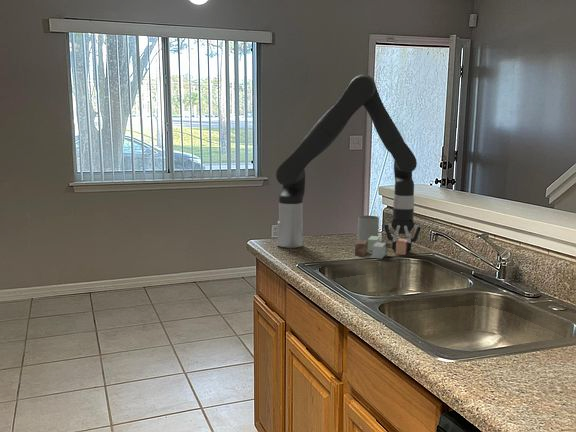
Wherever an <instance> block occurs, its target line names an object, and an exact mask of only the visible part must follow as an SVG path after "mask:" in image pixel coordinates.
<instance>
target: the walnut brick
mask: <svg viewBox="0 0 576 432" xmlns="http://www.w3.org/2000/svg"><path fill="white" fill-rule="evenodd" d="M367 253H368V240H358V239H357V241H356V242H355V244H354V255H355V256H359V257H360V256H363V257H365V256H366V255H367Z"/></svg>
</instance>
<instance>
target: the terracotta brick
mask: <svg viewBox="0 0 576 432" xmlns="http://www.w3.org/2000/svg"><path fill="white" fill-rule="evenodd" d="M396 241H397V242H396V252H395V255H402V256H403V255H406V254H408V253H407V243H408V240H407V238H406V239H405V238H397V240H396Z"/></svg>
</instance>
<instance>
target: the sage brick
mask: <svg viewBox="0 0 576 432" xmlns="http://www.w3.org/2000/svg"><path fill="white" fill-rule="evenodd" d="M376 242H381V236H379V235H378V236H371V237H370V238H369V239H368V251H369V252H373V245H374V244H375V243H376ZM368 251H367V252H368Z"/></svg>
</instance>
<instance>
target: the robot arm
mask: <svg viewBox="0 0 576 432" xmlns="http://www.w3.org/2000/svg"><path fill="white" fill-rule="evenodd" d="M362 106H363V107H364V108H365V110H366V112H367V113H368V115H369V117H370V119H371V122H372V124H373V125H374V129H375V131H376V134H377V135H378V137H379V139H380V141H381V142H382V144H383V146H384V148H385V149H386V150H387V152H389V153H390V155H391V156H392V159H393V160H394V161H393V162H394V163H393V174H394V181H395V182H394V195H393V205H392V207H393V208H392V221H391V223H385V224H384V225H383V226H384V227H383V228H384V230H385V234H386V237H387V240H388V241H391V242H392V245H391V247H392V250H393V252H394V253H396V242H397V241H398V237H399V235H401V234H403V235H405V236H406V239H407V240H408V243H407V253H406V254H409V253H410V252H411V251H412V243H416V242H417V239H418V238H419V235H420V232H421V229H422V226H421V225H417V224H415V222H414V213H415V212H414V211H415V195H414V194H415V182H414V180H413V172H414V171H415V170H416V168H417V166H418V161H417V158H416V156H415V154H414V153H413V151H412V150H411V148H410V147H409V146H408V144H406V142H405V140H404V138H403V136H402V134H401V132H400V131H399V129H398V128H397V125H396V124H395V123H394V121H393V119H392V118H391V116H390V114H389V112H388V110H387V109H386V107H385V105H384V103H383V101H382V98H381V96H380V93H379V90H378V88H377V85H376V81H375V80H374V78H373V77H372V76H370V75H368V74H365V73H364V74H363V73H361V74H359V75H357V76H355V77H353V79H352V80H351V81H350V83H349V85H348V86H347V87H346V89H345V90H344V92H343V93H342V94H341V96H340V98H339V99H338V100H337V102H335V104H334V105H333V106H332V107H330V108H329V109H328V110H327V111H326V112H325V113H324V114H323V115H322V116H321V117H320V118H319V119H318V121H317V122H316V123H315V124H314V126H313V127H312V128H311V129H310V131H308V133H307V134H306V135H305V136H304V138H303V139H302V140H301V142H300V143H299V144H298V146H297V147H296V148H295V150H293V152H292V153H291V154H289V155H288V156H287V158H286V159H284V160H283V161H282V162H281V163H280V164H279V165H278V168H277V170H276V172H275V173H276V174H275V178H276V180H277V182H278V184H280V185H282V190H281V193H280V194H279V196H278V221H277V223H276V234H277V235H276V246H277V247H281V248H290V249H291V248H302V246H303V200H304V197H305V192H306V191H305V190H306V189H305V187H306V171H305V168H307V166H308V165H309V164H310V163H311V162H312V161H313V160H314V159H315V158H317V157H318V156H319V155H320V154H322V153H323V152H324V151H326V150H327V149H328V148H329V147H330V146H331V145H332V143H334V141H335V140H336V139H337V138H338V137H339V135H340V134H341V133H342V131H343V130H344V128H345V127H346V125H347V124H348V122H349V120H350V119H351V118H352V117H353V116H354V115H355V113H356V112H357V111H358V110H359V109H360V108H361V107H362ZM392 228H393V230H394V235H393V236H392V233H391V229H392ZM413 229H414V231H415V232H414V236H413V237H412V236H411V235H412V234H411V231H412V230H413Z"/></svg>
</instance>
